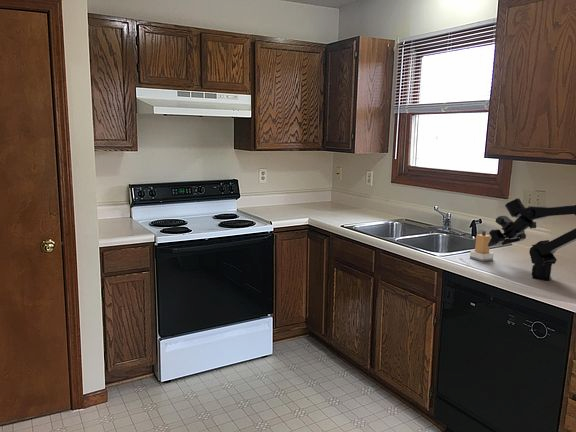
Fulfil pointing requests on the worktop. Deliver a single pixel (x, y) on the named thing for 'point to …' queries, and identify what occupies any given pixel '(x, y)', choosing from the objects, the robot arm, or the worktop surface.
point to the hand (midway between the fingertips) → (495, 245)
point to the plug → (482, 243)
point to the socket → (481, 256)
